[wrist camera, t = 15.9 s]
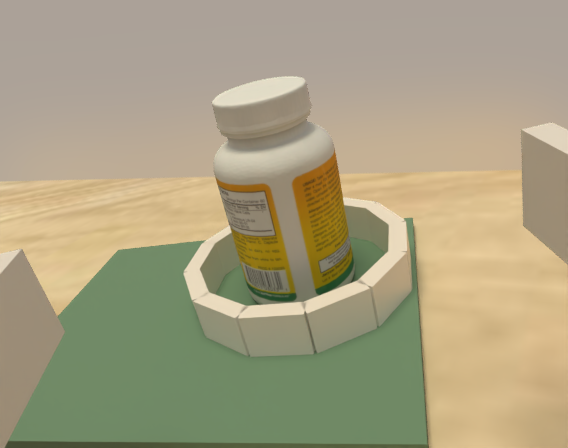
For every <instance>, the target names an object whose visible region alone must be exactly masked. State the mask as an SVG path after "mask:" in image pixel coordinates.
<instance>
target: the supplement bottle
mask: <svg viewBox="0 0 568 448" xmlns="http://www.w3.org/2000/svg"><path fill="white" fill-rule="evenodd" d="M212 106H213V110H214V114H215V118H216V122H217V128H218V129H219V130H220V132H221V134H222V135H223V136H225V137H227V138H228V141H226V142H225V143H224V144H223V145H222V146H221V147H220V148H219V150H218V152H217V153H216V155H215V158H214V173H215V177H216V181H217V184H218V187H219V191H220V195H221V198H222V201H223V205H224V208H225V212H226V215H227V218H228V222H229V225H230V229H231V232H232V236H233V239H234V243H235V246H236V250H237V253H238V256H239V260H240V263H241V266H242V270H243V273H244V277H245V280H246V283H247V287H248V290H249V292H250V294H251V296H252V297H253V299H254V300H255V301H256V302H257V303H259V304H260V305H266V304H280V303H295V302H304V301H307V300H309V299H312V298H314V297H317V296H319V295H322V294H325V293H327V292H330V291H332V290H335V289H337V288H340V287H342V286H345V285H347V284H350V283H351V281H352V279H353V276H354V270H355V265H354V259H353V252H352V247H351V241H350V235H349V230H348V225H347V219H346V213H345V207H344V201H343V195H342V190H341V184H340V177H339V171H338V166H337V160H336V154H335V148H334V144H333V141H332V138H331V137H330V135H329V133H328V132H327V131H326V130H325V129H323V128H322V127H321V126H319V125H317V124H315V123H311V122H308V121H307V119H306V118H307V117H308V116H309V115H310V109H311V102H310V98H309V92H308V88H307V84H306V81H305V79H303V78H301V77H295V76H293V77H292V76H286V77H276V78H270V79H264V80H259V81H255V82H251V83H248V84H245V85H242V86H238V87H236V88H233V89H230V90H228V91H226V92H223V93H222V94H220V95H218V96H217V97H216V98H215V99H214V100H213V101H212Z"/></svg>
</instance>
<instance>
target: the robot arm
mask: <svg viewBox="0 0 568 448" xmlns="http://www.w3.org/2000/svg"><path fill="white" fill-rule="evenodd" d="M521 145H522V194H523V226H524V227H525V228H526V229H528V230H529V231H530V232H531V233H532V234H533V235H534V236H536V237H537V238H538V239H539V240H540V241H541V242H542V243H544V244H545V245H546V246H547V247H548V248H549V249H551V250H552V251H553V252H554V253H555V254H556V255H557V256H559V257H560V258H561V259H562V260H563V261H564V262H565V263H567V264H568V130H567V129H565V128H563V127H560V126H558V125H556V124H554V123H547V124H543V125H539V126H535V127H530V128H526V129H522V130H521ZM64 333H65V331H64V329H63V327H62V325H61V323H60V321H59V319H58V317H57V315H56V313H55V311H54V309H53V308H52V306H51V304H50V302H49V300H48V298H47V296H46V294H45V292H44V290H43V288H42V287H41V285H40V283H39V281H38V279H37V277H36V275H35V273H34V271H33V269H32V267H31V265H30V264H29V262H28V260H27V258H26V256H25V254H24V252H23V250H22V249H19V250H14V251H10V252H6V253H2V254H0V448H5V446H6V444H7V442H8V440H9V438H10V436H11V434H12V432H13V430H14V429H15V427H16V425H17V423H18V421H19V419H20V417H21V415H22V413H23V411H24V409H25V408H26V406H27V404H28V402H29V400H30V398H31V396H32V394H33V392H34V390H35V388H36V386H37V385H38V383H39V381H40V379H41V377H42V375H43V373H44V371H45V369H46V367H47V365H48V363H49V362H50V360H51V358H52V356H53V354H54V352H55V350H56V348H57V346H58V344H59V342H60V341H61V339H62V337H63V335H64Z"/></svg>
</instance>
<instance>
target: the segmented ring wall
mask: <svg viewBox="0 0 568 448" xmlns="http://www.w3.org/2000/svg"><path fill="white" fill-rule="evenodd" d="M343 201H344V207H345V213H346V219H347V225H348V230H349V235H350V237H352V238H357V239H362V240H367V241H372V242H373V243H374V244H375V245H377V246H378V247H379V248H380V249H381V250H383V251H384V252H385V253H386V254H385V255H384V256H383V257H381V258H380V259H379V260H378V261H377V262H376V263H375V264H374V265H373V266H372V267H371V268H370V269H369V270H368V271H367V272H366V273H365V274H364V275H363V276H362V277H361V278H360V279H359V280H357V281H355V282H352V283H350V284H347V285H345V286H342V287H340V288H337V289H335V290H332V291H330V292H327V293H325V294H322V295H319V296H317V297H314V298H312V299H309V300H307V301H304V302H295V303H280V304H266V305H252V306H245V305H242V304H240V303H237V302H234V301H231V300H229V299H226V298H223V297H220V296H218V295H215V294H216V292H217V290H218V288H219V286H220V285H221V283H222V281H223V279H224V277H225V275H226V274H228V273H229V272H230V271H232V270H233V269H234V268H236V267H237V266H238V265H240V264H241V263H240V260H239V256H238V253H237V250H236V246H235V243H234V239H233V236H232V232H231V229H230V225H229V226H227V227H226V228H224V229H223V230H221V231H220V232H218V233H217V234H215V235H214V236H212V237H211V238H209V239H208V240H206V241H204V242H203V243H202V244H201V246H200V247H199V249H198V250H197V252H196V253H195V255H194V257H193V258H192V260H191V261H190V263H189V264H188V266H187V267H186V269H185V270H184V273H183V274H184V277H185V280H186V283H187V286H188V289H189V293H190V296H191V299H192V302H193V305H194V307H195V310H196V313H197V315H198V318H199V321H200V323H201V326H202V329H203V331H204V334H205V336H206V337H207V338H209V339H211V340H213V341H215V342H217V343H220V344H222V345H224V346H226V347H228V348H230V349H233V350H235V351H237V352H239V353H241V354H243V355H246V356H249V355H250V357H260V356H284V355H309V354H314V351H316V352H317V353H320V352H322V351H325V350H327V349H329V348H332V347H334V346H336V345H339V344H341V343H344V342H346V341H348V340H351V339H353V338H356V337H358V336H360V335H363V334H365V333H367V332H370V331H372V330H375V329H377V326H379V327H380V326H381V325H382V324H383V322H384V321H385V320H386V319H387V318H388V317H389V316H390V315H391V314H392V312H393V311H394V310H395V309H396V308H397V307H398V306H399V305H400V303H401V302H402V301H403V300H404V299H405V298H406V297H407V296H408V295H409V293H410V292H411V291H412V271H411V255H410V248H409V240H408V233H407V225H406V221H405V220H404V219H403V218H401V217H400V216H398V215H397V214H395V213H394V212H392V211H391V210H389V209H388V208H386V207H385V206H383V205H381V204H380V203H378V202H377V203H376V202H375V201H367V200H360V199H352V198H344V197H343Z"/></svg>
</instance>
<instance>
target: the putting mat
mask: <svg viewBox="0 0 568 448" xmlns="http://www.w3.org/2000/svg"><path fill="white" fill-rule="evenodd" d="M404 220H405V221H406V225H407V233H408V240H409V248H410V255H411V271H412V291H411V292H410V293H409V295H408V296H407V297H406V298H405V299H404V300H403V301H402V302H401V303H400V305H399V306H398V307H397V308H396V309H395V310H394V311H393V312H392V314H391V315H390V316H389V317H388V318H387V319H386V320H385V321H384V322H383V324H382V325H381V326H380V327H379V326H377V329H375V330H372V331H370V332H367V333H365V334H363V335H360V336H358V337H356V338H353V339H351V340H348V341H346V342H344V343H341V344H339V345H336V346H334V347H332V348H329V349H327V350H325V351H322V352H320V353H317V352H316V351H314V354H309V355H284V356H260V357H250V355H249V356H246V355H243V354H241V353H239V352H237V351H235V350H233V349H230V348H228V347H226V346H224V345H222V344H220V343H217V342H215V341H213V340H211V339H209V338H207V337H206V336H205V334H204V331H203V329H202V326H201V323H200V321H199V318H198V315H197V313H196V310H195V307H194V305H193V302H192V299H191V296H190V293H189V289H188V286H187V283H186V280H185V277H184V274H183V273H184V270H185V269H186V267H187V266H188V264H189V263H190V261H191V260H192V258H193V257H194V255H195V253H196V252H197V250H198V249H199V247H200V246H201V244H202V243H203V242H204V241H196V242H187V243H178V244H168V245H159V246H150V247H141V248H132V249H123V250H118V251H117V252H116V253H115V254H114V255H113V256H112V258H111V259H110V260H109V261H108V262H107V263H106V264H105V265H104V266H103V267H102V269H101V270H100V271H99V272H98V273H97V274H96V275H95V276H94V277H93V278H92V280H91V281H90V282H89V283H88V284H87V285H86V286H85V287H84V288H83V289H82V290H81V292H80V293H79V294H78V295H77V296H76V297H75V298H74V299H73V300H72V301H71V303H70V304H69V305H68V306H67V307H66V308H65V309H64V310H63V311H62V312H61V314H60V315H59V316H58V319H59V321H60V323H61V325H62V327H63V329H64V331H65V333H64V335H63V337H62V339H61V341H60V342H59V344H58V346H57V348H56V350H55V352H54V354H53V356H52V358H51V360H50V362H49V363H48V365H47V367H46V369H45V371H44V373H43V375H42V377H41V379H40V381H39V383H38V385H37V386H36V388H35V390H34V392H33V394H32V396H31V398H30V400H29V402H28V404H27V406H26V408H25V409H24V411H23V413H22V415H21V417H20V419H19V421H18V423H17V425H16V427H15V429H14V430H13V432H12V434H11V436H10V438H9V440H8V442H7V444H6V446H5V448H428V436H427V421H426V406H425V391H424V376H423V361H422V346H421V331H420V316H419V301H418V287H417V272H416V257H415V242H414V227H413V218H404ZM205 241H206V240H205ZM350 241H351V247H352V252H353V259H354V265H355V270H354V276H353V279H352V281H351V283H352V282H355V281H357V280H359V279H360V278H361V277H362V276H363V275H364V274H365V273H366V272H367V271H368V270H369V269H370V268H371V267H372V266H373V265H374V264H375V263H376V262H377V261H378V260H379V259H380V258H381V257H383V256H384V255H385V254H386V253H385V252H384V251H383V250H381V249H380V248H379V247H378V246H377V245H375V244H374V243H373V242H372V241H367V240H362V239H357V238H352V237H350ZM215 295H218V296H220V297H223V298H226V299H229V300H231V301H234V302H237V303H240V304H242V305H245V306H252V305H260V304H259V303H257V302H256V301H255V300H254V299H253V297H252V296H251V294H250V292H249V290H248V287H247V283H246V280H245V277H244V273H243V270H242V266H241V264H240V265H238V266H237V267H236V268H234V269H233V270H232V271H230V272H229V273H228V274H226V275H225V277H224V279H223V281H222V283H221V285H220V286H219V288H218V290H217V292H216V294H215Z"/></svg>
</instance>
